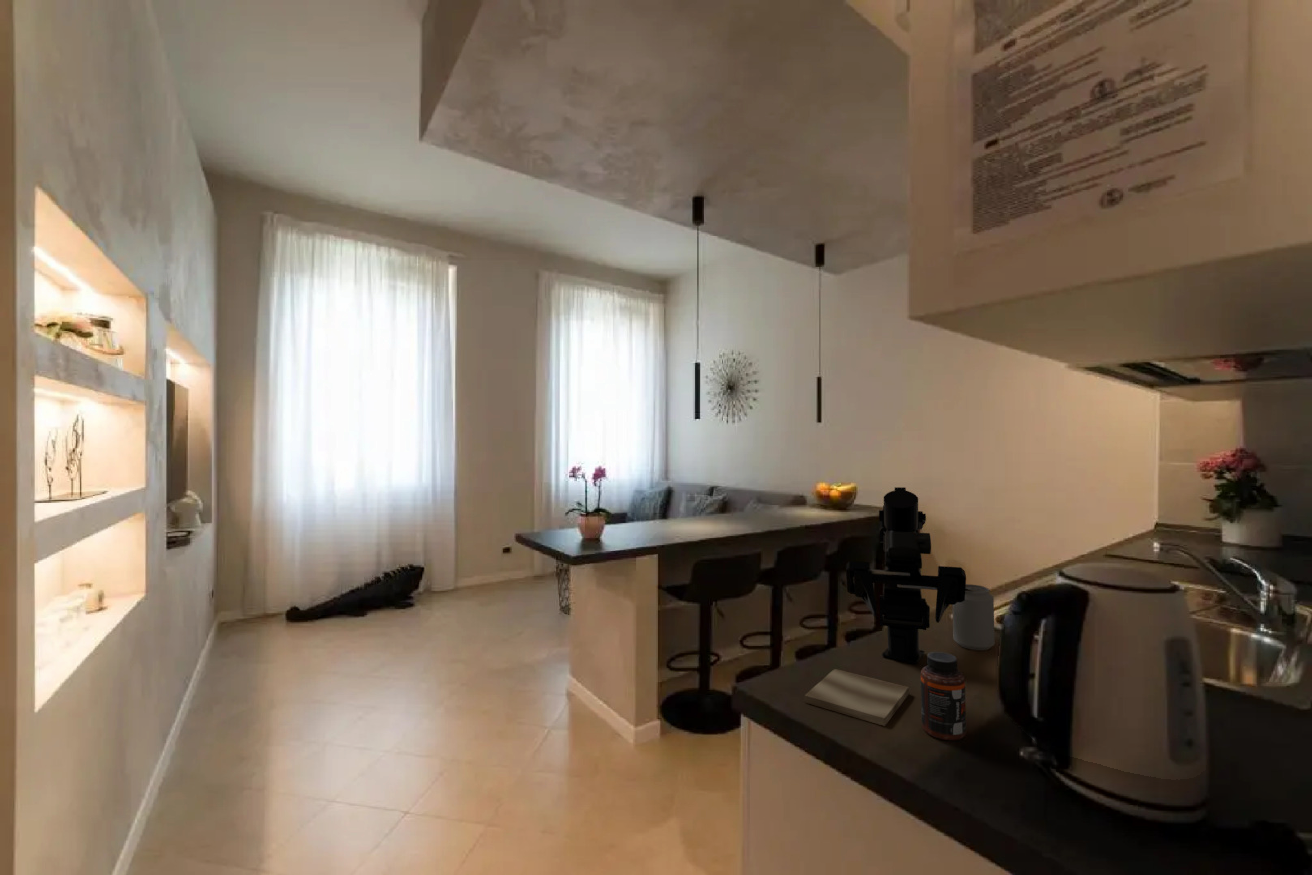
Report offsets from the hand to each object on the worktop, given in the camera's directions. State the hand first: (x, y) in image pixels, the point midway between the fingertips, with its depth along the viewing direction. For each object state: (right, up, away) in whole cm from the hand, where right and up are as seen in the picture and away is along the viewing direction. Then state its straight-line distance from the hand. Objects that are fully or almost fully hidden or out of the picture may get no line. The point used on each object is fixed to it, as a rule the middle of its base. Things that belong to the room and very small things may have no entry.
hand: (905, 617), depth 91 cm
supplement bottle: (+3, -15, -7) cm, 17 cm away
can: (+26, -14, +26) cm, 39 cm away
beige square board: (-6, -15, +5) cm, 17 cm away
